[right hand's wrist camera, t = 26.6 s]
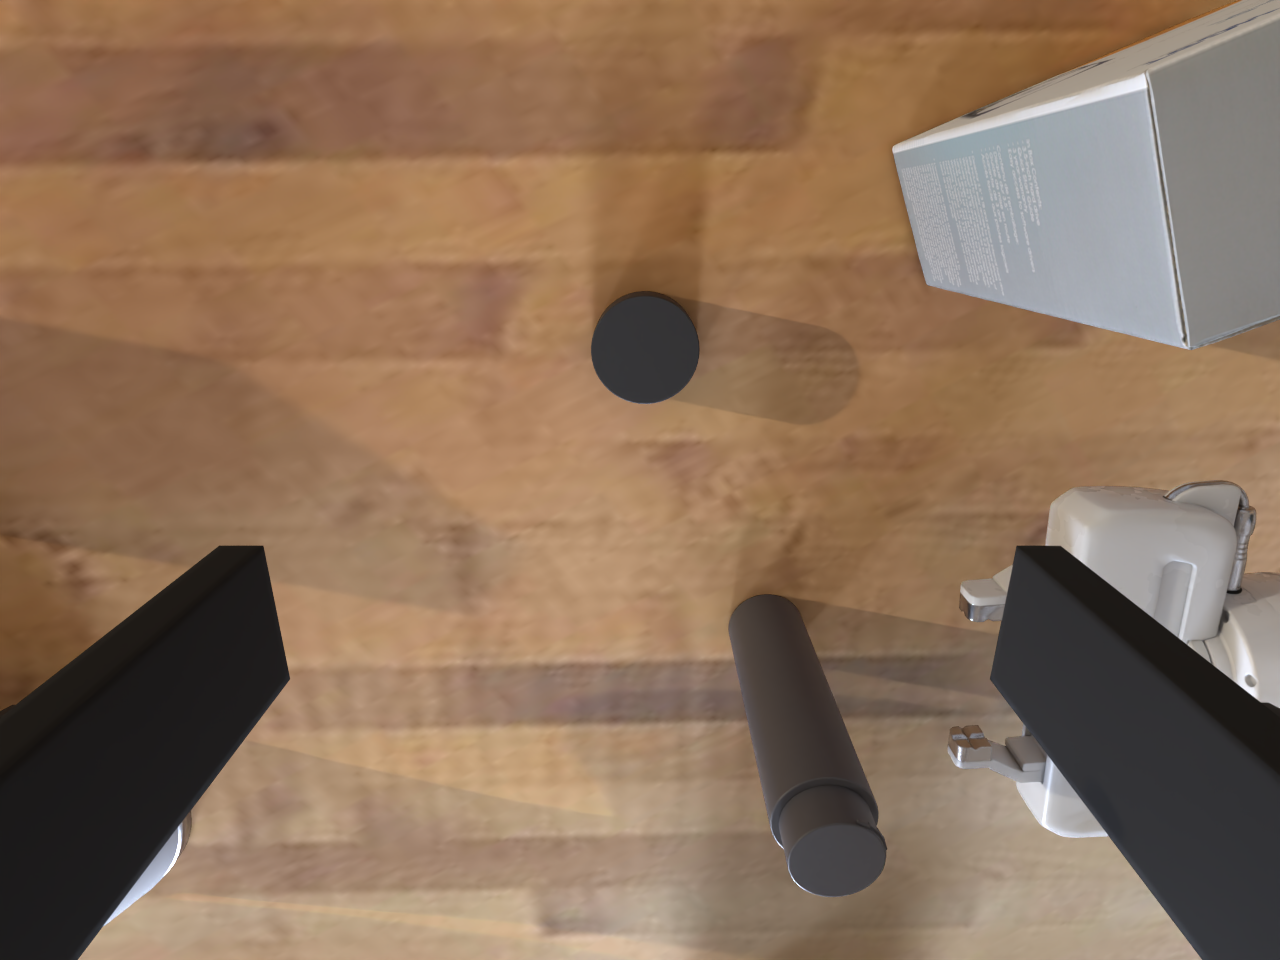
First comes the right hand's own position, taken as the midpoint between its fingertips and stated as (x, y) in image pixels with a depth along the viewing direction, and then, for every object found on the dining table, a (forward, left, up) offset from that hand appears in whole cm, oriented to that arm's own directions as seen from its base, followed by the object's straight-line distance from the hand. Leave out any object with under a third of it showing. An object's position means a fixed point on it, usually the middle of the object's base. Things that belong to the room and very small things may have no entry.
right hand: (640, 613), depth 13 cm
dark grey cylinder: (-15, -12, -28) cm, 34 cm away
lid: (0, 0, -26) cm, 26 cm away
